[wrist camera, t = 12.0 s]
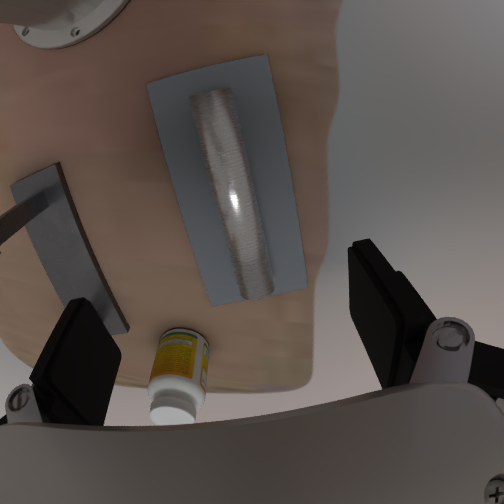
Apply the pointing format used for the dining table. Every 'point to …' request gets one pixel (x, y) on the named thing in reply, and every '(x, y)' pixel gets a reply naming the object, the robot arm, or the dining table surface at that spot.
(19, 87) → the dining table surface
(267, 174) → the slate mat
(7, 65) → the dining table surface
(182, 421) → the supplement bottle
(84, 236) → the hook stand
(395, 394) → the robot arm
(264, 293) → the grey metallic bar
